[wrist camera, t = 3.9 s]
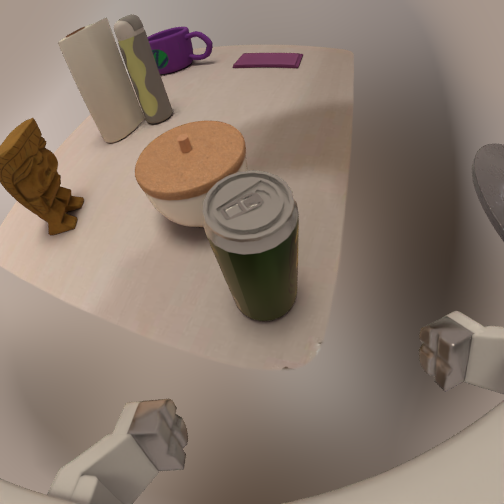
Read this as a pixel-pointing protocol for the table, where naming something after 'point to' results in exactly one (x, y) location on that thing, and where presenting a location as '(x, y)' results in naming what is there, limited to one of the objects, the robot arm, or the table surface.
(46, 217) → the wooden tiki figurine
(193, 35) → the mug
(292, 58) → the flat purple rectangular slab
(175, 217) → the trinket box
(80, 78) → the paper towel roll
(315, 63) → the table surface
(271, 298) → the beer can
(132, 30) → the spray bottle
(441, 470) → the robot arm
